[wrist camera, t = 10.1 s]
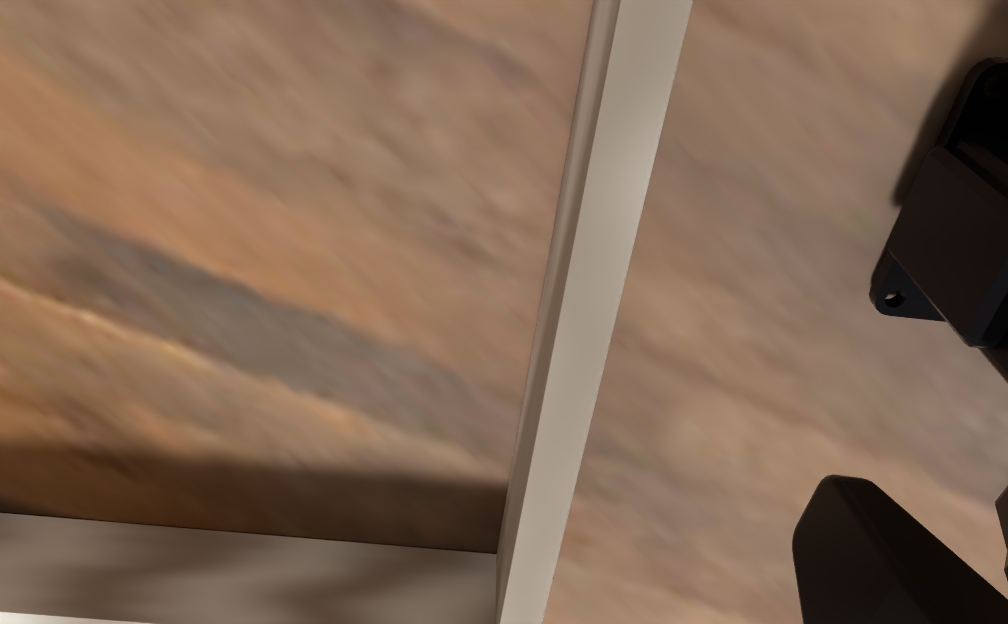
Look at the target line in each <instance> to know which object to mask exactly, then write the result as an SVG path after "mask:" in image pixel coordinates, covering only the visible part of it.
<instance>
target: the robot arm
mask: <svg viewBox="0 0 1008 624" xmlns="http://www.w3.org/2000/svg"><path fill="white" fill-rule="evenodd" d="M998 74H999V75H1000V77H999V82H998V83H997V84H996V86H995V87H994V88H992V89H991V90H989V91H984V88H985V84H986V83H987V81H988V80H989V79H990V78H991V77H993V76H995V75H998ZM887 248H888V251H887V253H886V255H885V257H884V260H883V262H882V264H881V266H880V269H879V271H878V273H877V275H876V277H875V280H874V282H873V284H872V286H871V289H870V293H869V297H870V301H871V302H872V304H873V305H874V306H875V308H876V309H877V310H878V311H879V312H880V313H881V314H884V315H888V316H897V317H907V318H916V319H925V320H935V321H944V322H947V323H948V324H949V325H950V326H951V328H952V329H953V330H954V331H955V332H956V334H957V335H958V336H959V337H960V338H961V340H962V341H963V342H964V343H965V344H966V345H968V346H969V347H976V348H978V349H979V350H980V351H981V353H982V354H983V355H984V356H985V357H986V358H987V360H988V361H989V362H990V363H991V364H992V366H993V367H994V368H995V369H996V370H997V371H998V373H999V374H1000V375H1001V376H1002V377H1003V378H1004V380H1005V381H1006V382H1007V383H1008V59H1007V58H1000V57H995V58H987V59H985V60H983V61H980V62H979V63H977V64H976V65H975V66H974V67H973V68H972V69H971V70H970V71H969V73H968V74H967V76H966V77H965V80H964V82H963V84H962V86H961V88H960V91H959V93H958V95H957V97H956V100H955V102H954V104H953V106H952V108H951V111H950V113H949V115H948V117H947V120H946V122H945V124H944V126H943V128H942V131H941V133H940V135H939V137H938V140H937V142H936V144H935V146H934V148H933V149H932V150H931V151H930V152H929V153H928V154H927V155H926V156H925V158H924V161H923V163H922V165H921V167H920V170H919V172H918V174H917V176H916V179H915V181H914V183H913V185H912V188H911V190H910V192H909V194H908V196H907V199H906V201H905V203H904V205H903V208H902V210H901V212H900V214H899V217H898V219H897V221H896V223H895V226H894V228H893V230H892V232H891V235H890V237H889V239H888V241H887ZM894 291H899V292H898V293H897V295H896V296H894V297H893V298H891V299H885V298H886V297H887V296H888V295H889V294H890V293H892V292H894ZM995 506H996V509H997V513H998V517H999V521H1000V525H1001V528H1002V532H1003V536H1004V540H1005V544H1006V548H1007V556H1006V561H1005V567H1004V571H1005V574H1006V577H1007V581H1008V486H1007V488H1006V489H1005V490H1004V491H1003V493H1002V494H1001V495H1000V496H999V498H998V499H997V500H996V501H995ZM792 552H793V560H794V566H795V573H796V579H797V586H798V592H799V599H800V605H801V612H802V618H803V624H1008V599H1007V598H1005V597H1004V596H1003V595H1002V594H1001V593H1000V592H999V591H997V590H996V589H995V588H994V587H993V586H992V585H990V584H989V583H988V582H987V581H986V580H985V579H984V578H982V577H981V576H980V575H979V574H978V573H977V572H976V571H974V570H973V569H972V568H971V567H970V566H969V565H967V564H966V563H965V562H964V561H963V560H962V559H961V558H959V557H958V556H957V555H956V554H955V553H954V552H953V551H951V550H950V549H949V548H948V547H947V546H946V545H944V544H943V543H942V542H941V541H940V540H939V539H938V538H936V537H935V536H934V535H933V534H932V533H931V532H930V531H928V530H927V529H926V528H925V527H924V526H923V525H921V524H920V523H919V522H918V521H917V520H916V519H915V518H913V517H912V516H911V515H910V514H909V513H908V512H907V511H905V510H904V509H903V508H902V507H901V506H900V505H898V504H897V503H896V502H895V501H894V500H893V499H892V498H890V497H889V496H888V495H887V494H886V493H885V492H884V491H882V490H881V489H880V488H879V487H878V486H877V485H875V484H874V483H873V482H871V481H869V480H867V479H863V478H857V477H849V476H841V475H829V476H826V477H825V478H824V479H822V480H821V482H820V483H819V485H818V486H817V488H816V490H815V492H814V494H813V496H812V498H811V499H810V501H809V503H808V505H807V507H806V509H805V511H804V512H803V514H802V516H801V518H800V520H799V522H798V524H797V526H796V528H795V531H794V534H793V541H792Z"/></svg>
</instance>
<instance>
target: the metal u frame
mask: <svg viewBox="0 0 1008 624" xmlns="http://www.w3.org/2000/svg"><path fill="white" fill-rule="evenodd" d="M692 2H693V0H594V2H593V7H592V13H591V19H590V25H589V30H588V36H587V42H586V47H585V53H584V59H583V64H582V70H581V76H580V81H579V87H578V93H577V99H576V104H575V110H574V116H573V121H572V127H571V133H570V138H569V144H568V150H567V155H566V161H565V167H564V173H563V178H562V184H561V190H560V195H559V201H558V207H557V212H556V218H555V224H554V229H553V235H552V241H551V247H550V252H549V258H548V264H547V269H546V275H545V281H544V286H543V292H542V298H541V303H540V309H539V315H538V321H537V326H536V332H535V338H534V343H533V349H532V355H531V360H530V366H529V372H528V377H527V383H526V389H525V395H524V400H523V406H522V412H521V417H520V423H519V429H518V434H517V440H516V446H515V451H514V457H513V463H512V469H511V474H510V480H509V486H508V491H507V497H506V503H505V508H504V514H503V520H502V525H501V531H500V537H499V543H498V548H497V554H488V553H476V552H464V551H452V550H440V549H428V548H416V547H404V546H392V545H380V544H368V543H356V542H344V541H332V540H320V539H308V538H296V537H284V536H272V535H260V534H248V533H236V532H224V531H212V530H200V529H188V528H176V527H164V526H152V525H140V524H128V523H116V522H104V521H92V520H80V519H68V518H56V517H44V516H32V515H20V514H9V513H0V624H542V621H543V616H544V612H545V608H546V604H547V600H548V596H549V592H550V588H551V583H552V579H553V575H554V571H555V567H556V563H557V559H558V555H559V550H560V546H561V542H562V538H563V534H564V530H565V526H566V522H567V517H568V513H569V509H570V505H571V501H572V497H573V493H574V489H575V485H576V480H577V476H578V472H579V468H580V464H581V460H582V456H583V452H584V447H585V443H586V439H587V435H588V431H589V427H590V423H591V419H592V414H593V410H594V406H595V402H596V398H597V394H598V390H599V386H600V381H601V377H602V373H603V369H604V365H605V361H606V357H607V353H608V349H609V344H610V340H611V336H612V332H613V328H614V324H615V320H616V316H617V311H618V307H619V303H620V299H621V295H622V291H623V287H624V283H625V278H626V274H627V270H628V266H629V262H630V258H631V254H632V250H633V245H634V241H635V237H636V233H637V229H638V225H639V221H640V217H641V212H642V208H643V204H644V200H645V196H646V192H647V188H648V184H649V180H650V175H651V171H652V167H653V163H654V159H655V155H656V151H657V147H658V142H659V138H660V134H661V130H662V126H663V122H664V118H665V114H666V109H667V105H668V101H669V97H670V93H671V89H672V85H673V81H674V76H675V72H676V68H677V64H678V60H679V56H680V52H681V48H682V43H683V39H684V35H685V31H686V27H687V23H688V19H689V15H690V11H691V6H692Z"/></svg>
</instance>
